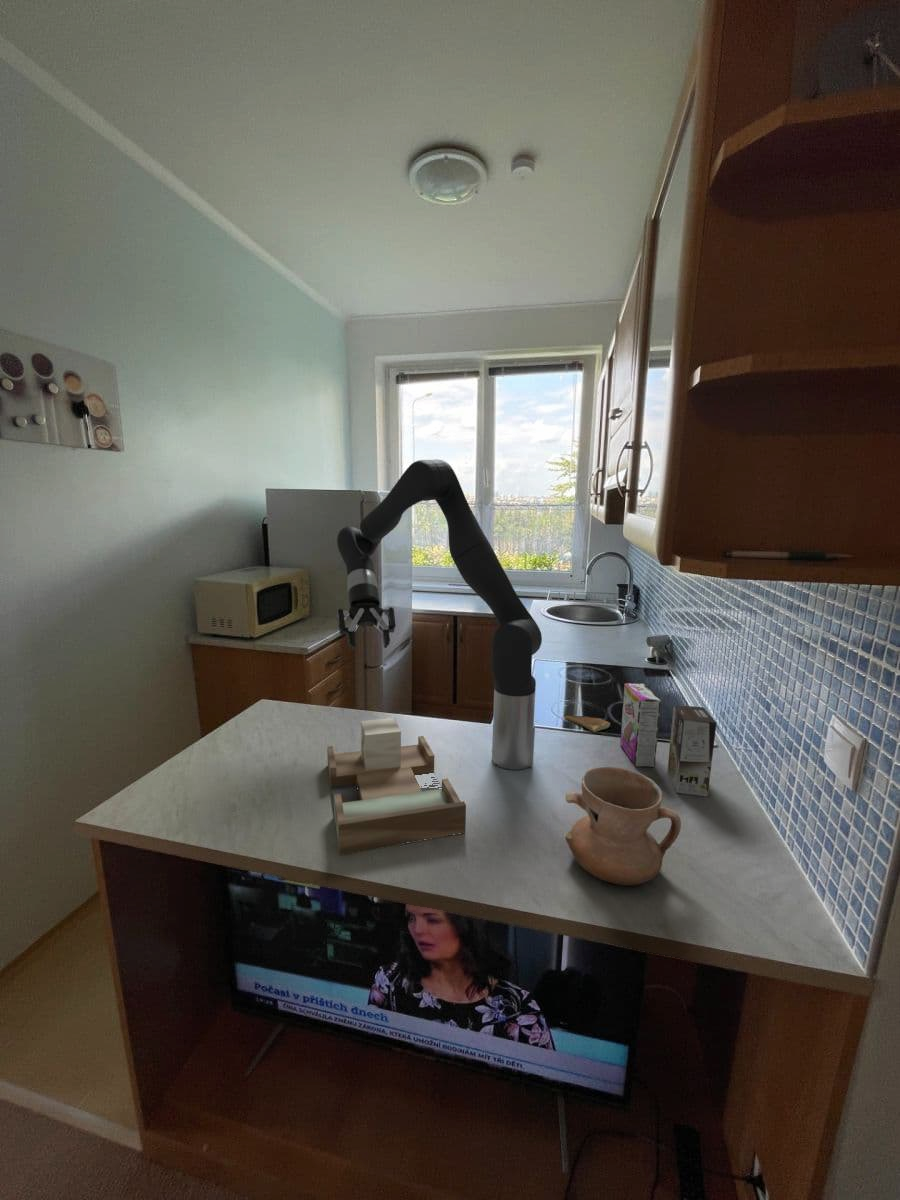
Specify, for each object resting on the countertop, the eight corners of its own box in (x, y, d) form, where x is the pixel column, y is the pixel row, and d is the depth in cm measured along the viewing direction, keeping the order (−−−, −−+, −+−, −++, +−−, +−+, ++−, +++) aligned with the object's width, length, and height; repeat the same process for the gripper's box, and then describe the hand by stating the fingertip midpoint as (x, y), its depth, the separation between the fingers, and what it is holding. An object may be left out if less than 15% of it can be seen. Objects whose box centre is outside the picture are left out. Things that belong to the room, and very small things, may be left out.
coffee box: (709, 797, 103) (717, 723, 100) (675, 793, 104) (683, 719, 102) (697, 775, 112) (704, 706, 109) (666, 771, 113) (673, 703, 110)
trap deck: (327, 765, 113) (327, 742, 112) (423, 753, 119) (423, 732, 118) (339, 855, 83) (339, 824, 82) (465, 833, 90) (466, 805, 89)
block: (361, 754, 113) (360, 721, 111) (394, 750, 115) (394, 717, 114) (365, 771, 106) (365, 735, 104) (400, 766, 108) (400, 731, 107)
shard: (563, 719, 142) (563, 713, 142) (582, 714, 146) (583, 708, 146) (593, 734, 133) (593, 728, 133) (612, 728, 137) (613, 722, 137)
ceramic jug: (558, 883, 78) (565, 800, 75) (561, 827, 92) (568, 755, 89) (683, 910, 74) (696, 823, 71) (667, 847, 88) (677, 772, 85)
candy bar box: (618, 745, 126) (623, 682, 123) (638, 746, 126) (644, 683, 123) (633, 767, 115) (639, 699, 112) (655, 768, 115) (662, 699, 112)
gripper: (335, 582, 123) (340, 640, 114) (392, 581, 128) (402, 637, 119) (333, 600, 129) (338, 656, 120) (388, 598, 134) (397, 653, 125)
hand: (370, 646), depth 120 cm, fingers open, 7 cm apart
